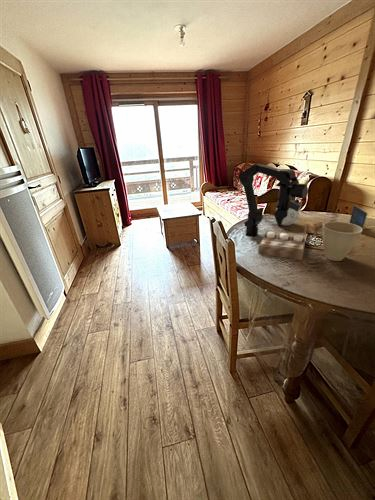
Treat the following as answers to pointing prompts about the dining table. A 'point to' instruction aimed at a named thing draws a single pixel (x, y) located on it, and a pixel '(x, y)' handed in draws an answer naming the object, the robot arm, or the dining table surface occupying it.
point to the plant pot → (339, 239)
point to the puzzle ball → (290, 217)
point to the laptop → (358, 217)
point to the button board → (282, 246)
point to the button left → (270, 235)
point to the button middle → (284, 236)
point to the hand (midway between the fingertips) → (280, 223)
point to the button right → (298, 238)
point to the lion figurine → (314, 227)
